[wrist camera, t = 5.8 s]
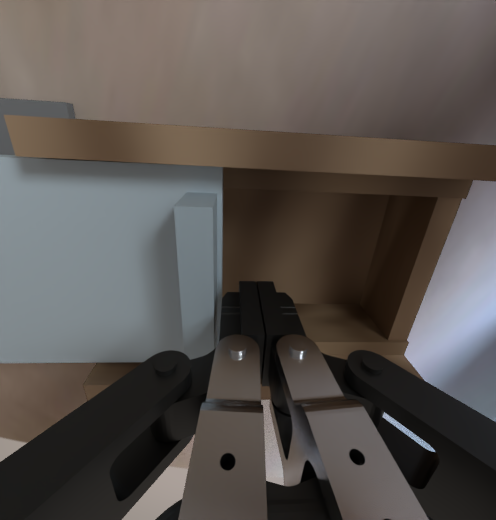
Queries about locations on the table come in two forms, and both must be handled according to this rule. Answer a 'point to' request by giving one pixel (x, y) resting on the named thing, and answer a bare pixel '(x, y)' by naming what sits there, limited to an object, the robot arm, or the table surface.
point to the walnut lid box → (303, 217)
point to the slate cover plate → (108, 260)
